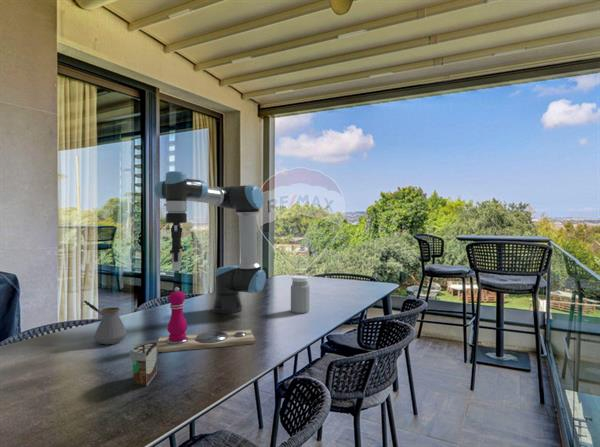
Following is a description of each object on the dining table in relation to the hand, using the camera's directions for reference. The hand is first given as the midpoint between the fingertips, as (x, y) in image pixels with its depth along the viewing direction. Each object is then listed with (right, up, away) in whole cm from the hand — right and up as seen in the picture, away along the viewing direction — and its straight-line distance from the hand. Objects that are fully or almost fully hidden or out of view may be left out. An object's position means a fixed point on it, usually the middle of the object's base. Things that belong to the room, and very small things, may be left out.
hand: (177, 268), depth 142 cm
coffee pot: (-32, -30, +6) cm, 44 cm away
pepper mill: (0, -28, 0) cm, 28 cm away
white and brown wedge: (-1, -30, -30) cm, 43 cm away
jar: (+47, -29, +50) cm, 75 cm away
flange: (0, -28, 0) cm, 28 cm away
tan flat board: (+11, -29, +3) cm, 31 cm away
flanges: (+16, -28, +5) cm, 32 cm away
